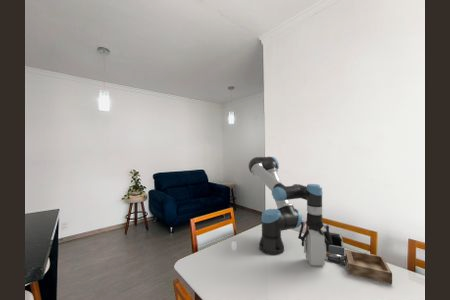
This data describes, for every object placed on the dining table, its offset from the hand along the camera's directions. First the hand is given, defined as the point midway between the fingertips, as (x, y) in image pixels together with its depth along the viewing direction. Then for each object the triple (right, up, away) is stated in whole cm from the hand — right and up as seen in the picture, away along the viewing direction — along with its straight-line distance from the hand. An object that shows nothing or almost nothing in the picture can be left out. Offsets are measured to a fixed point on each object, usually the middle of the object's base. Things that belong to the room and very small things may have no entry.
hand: (314, 254), depth 102 cm
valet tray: (+17, -5, +18) cm, 25 cm away
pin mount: (+12, -5, +1) cm, 13 cm away
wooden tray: (+24, -4, -7) cm, 25 cm away
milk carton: (0, -4, 0) cm, 4 cm away
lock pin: (+12, -4, +2) cm, 12 cm away
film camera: (+17, -4, +18) cm, 25 cm away
